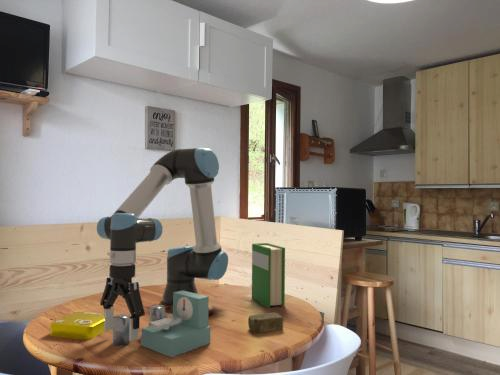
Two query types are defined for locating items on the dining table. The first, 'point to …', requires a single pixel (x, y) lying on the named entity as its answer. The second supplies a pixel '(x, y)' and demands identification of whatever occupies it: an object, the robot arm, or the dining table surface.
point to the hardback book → (268, 274)
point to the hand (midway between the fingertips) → (120, 334)
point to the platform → (165, 323)
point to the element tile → (78, 325)
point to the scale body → (181, 326)
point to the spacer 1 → (121, 330)
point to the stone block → (265, 322)
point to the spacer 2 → (157, 312)
